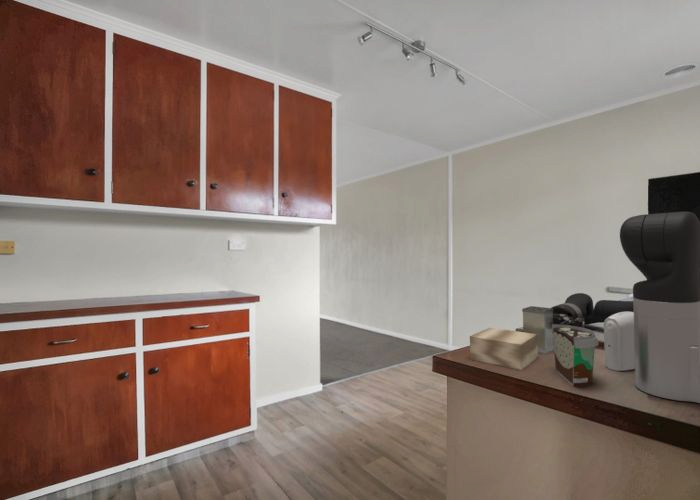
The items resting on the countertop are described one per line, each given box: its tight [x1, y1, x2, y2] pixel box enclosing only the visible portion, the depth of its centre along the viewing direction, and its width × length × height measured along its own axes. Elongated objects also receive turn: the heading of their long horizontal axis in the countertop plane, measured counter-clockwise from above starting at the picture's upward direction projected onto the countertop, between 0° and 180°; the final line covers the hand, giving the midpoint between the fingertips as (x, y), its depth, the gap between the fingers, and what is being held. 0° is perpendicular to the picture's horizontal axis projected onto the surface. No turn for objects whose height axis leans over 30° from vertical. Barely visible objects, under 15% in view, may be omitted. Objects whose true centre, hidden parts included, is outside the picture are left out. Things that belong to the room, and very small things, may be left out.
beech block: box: [469, 327, 539, 371], centre depth 86 cm, size 12×12×6 cm
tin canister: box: [521, 305, 554, 355], centre depth 92 cm, size 6×6×11 cm
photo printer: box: [603, 312, 635, 372], centre depth 78 cm, size 10×4×12 cm, turn 105°
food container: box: [552, 324, 599, 388], centre depth 72 cm, size 12×6×10 cm, turn 168°
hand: (544, 325), depth 95 cm, fingers open, 8 cm apart
